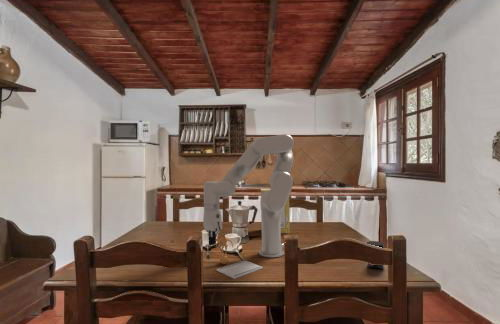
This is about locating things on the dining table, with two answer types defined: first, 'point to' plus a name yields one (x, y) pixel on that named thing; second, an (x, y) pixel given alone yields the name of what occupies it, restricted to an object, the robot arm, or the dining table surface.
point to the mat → (239, 269)
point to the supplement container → (379, 246)
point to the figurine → (224, 258)
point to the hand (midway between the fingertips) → (212, 244)
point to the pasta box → (282, 216)
